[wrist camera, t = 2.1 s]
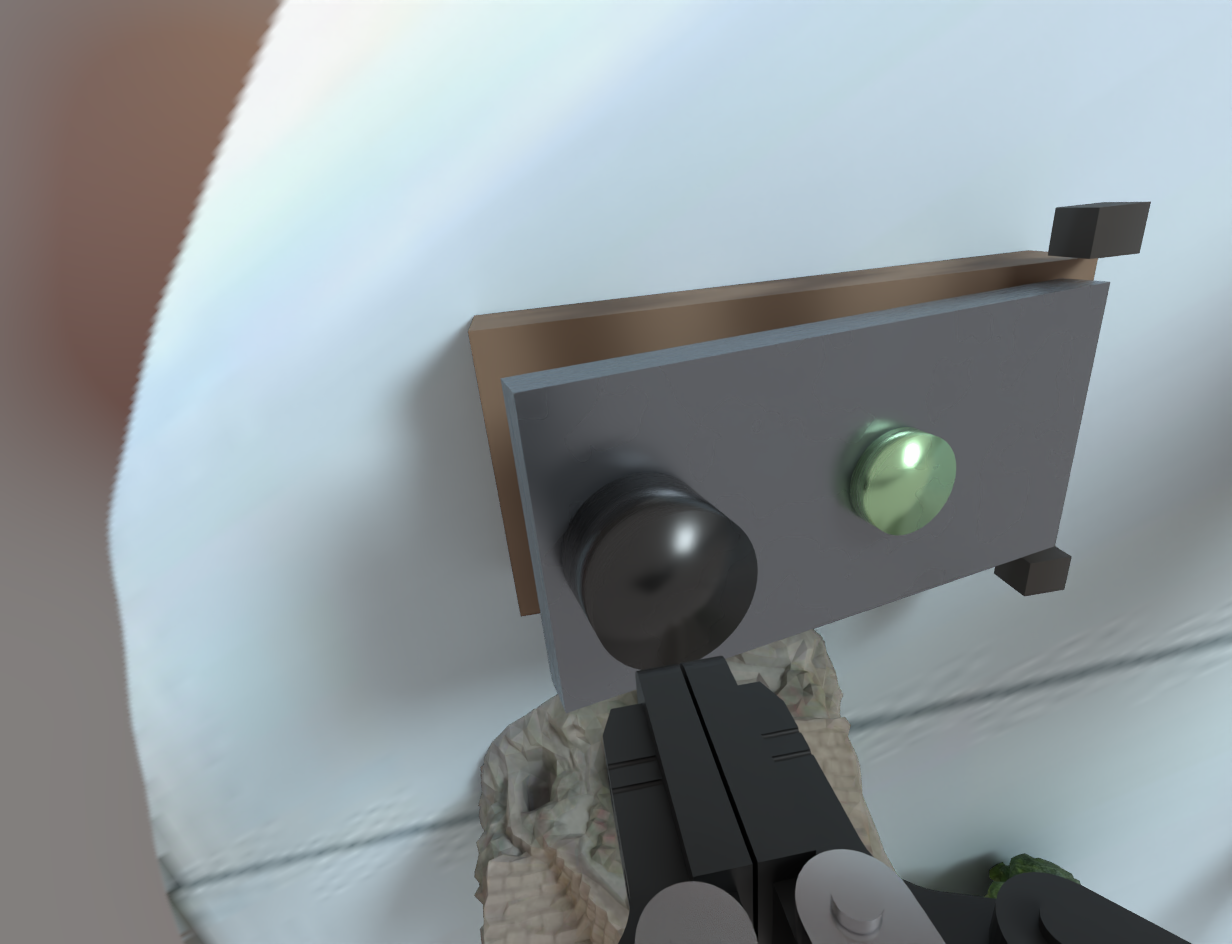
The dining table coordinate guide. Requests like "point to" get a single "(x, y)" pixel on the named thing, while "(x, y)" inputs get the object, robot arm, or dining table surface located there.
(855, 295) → the brown boxy piece
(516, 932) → the miniature castle
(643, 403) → the plate
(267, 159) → the dining table surface
